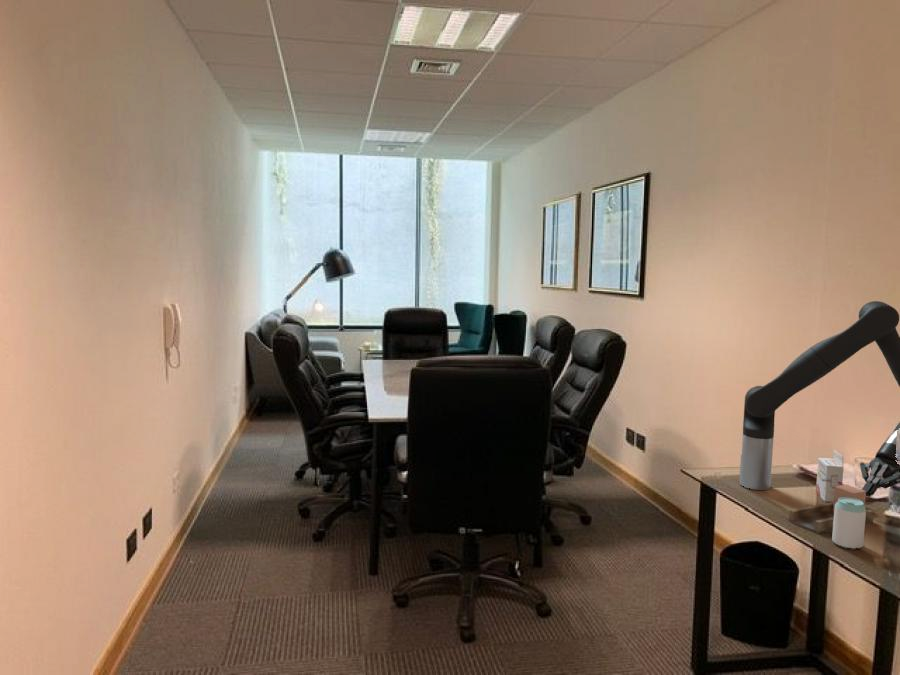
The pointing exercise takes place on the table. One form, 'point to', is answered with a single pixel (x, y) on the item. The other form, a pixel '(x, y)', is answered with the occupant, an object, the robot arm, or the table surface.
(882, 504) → the table surface
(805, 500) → the table surface
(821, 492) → the ink cartridge box
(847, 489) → the block
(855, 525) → the can
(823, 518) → the chute
